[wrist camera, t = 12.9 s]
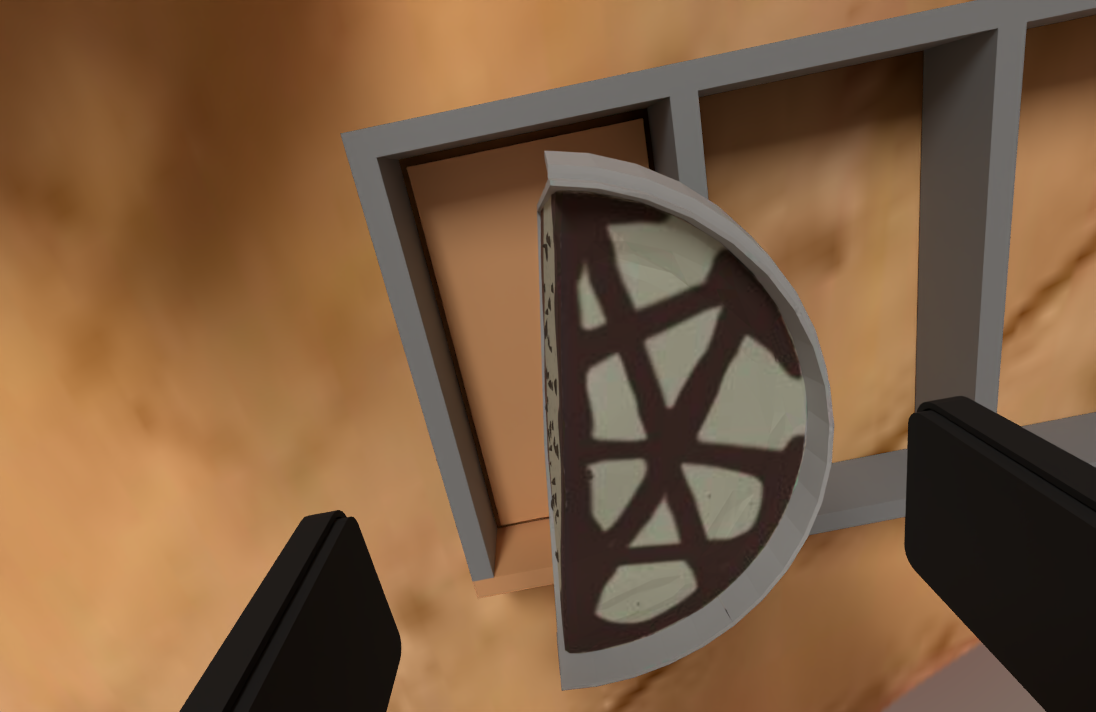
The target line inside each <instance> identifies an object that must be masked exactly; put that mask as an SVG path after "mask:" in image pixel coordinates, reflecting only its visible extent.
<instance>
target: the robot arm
mask: <svg viewBox="0 0 1096 712" xmlns="http://www.w3.org/2000/svg"><path fill="white" fill-rule="evenodd" d="M904 545H905V552H906V556H907V558H908V561H909V562H910V564H911V566H912V567H913V569H914V570H915V571H916V572H917V573H918V574H919V575H920V576H921V578H922V579H923V580H924V581H925V582H926V583H927V584H928V585H929V586H930V587H931V588H932V589H933V590H934V592H935V593H936V594H937V595H938V596H939V597H940V598H941V599H942V600H943V601H944V602H945V603H946V604H947V605H948V607H949V608H950V609H951V610H952V611H953V612H954V613H955V614H956V615H957V616H958V617H959V618H960V619H961V620H962V622H963V623H964V624H965V625H966V626H967V627H968V628H969V629H970V630H971V631H972V632H973V633H974V634H975V636H976V637H977V638H978V639H979V640H980V641H981V642H982V643H983V644H984V645H985V646H986V647H987V648H988V649H989V651H990V652H991V653H992V654H993V655H994V656H995V657H996V658H997V659H998V660H999V661H1000V662H1001V663H1002V664H1003V665H1004V666H1005V668H1006V669H1007V670H1008V671H1009V672H1010V673H1011V674H1012V675H1013V676H1014V677H1015V678H1016V679H1017V680H1018V682H1019V683H1020V684H1021V685H1022V686H1023V687H1024V688H1025V689H1026V690H1027V691H1028V692H1029V693H1030V694H1031V696H1032V697H1033V698H1034V699H1035V700H1036V701H1037V702H1038V703H1039V704H1040V705H1041V706H1042V707H1043V708H1044V709H1045V711H1046V712H1096V467H1094V466H1092V465H1090V464H1089V463H1087V462H1085V461H1083V460H1081V459H1079V458H1078V457H1076V456H1074V455H1072V454H1070V453H1068V452H1067V451H1065V450H1063V449H1061V448H1059V447H1057V446H1056V445H1054V444H1052V443H1050V442H1048V441H1046V440H1045V439H1043V438H1041V437H1039V436H1037V435H1035V434H1034V433H1032V432H1030V431H1028V430H1026V429H1024V428H1023V427H1021V426H1019V425H1017V424H1015V423H1014V422H1012V421H1010V420H1008V419H1006V418H1004V417H1003V416H1001V415H999V414H997V413H995V412H993V411H992V410H990V409H988V408H986V407H984V406H982V405H981V404H979V403H977V402H975V401H973V400H971V399H970V398H967V397H964V396H954V397H949V398H944V399H938V400H933V401H927V402H923V403H922V404H920V405H919V407H918V409H917V413H913V414H912V415H911V416H910V418H909V422H908V449H907V481H906V512H905V544H904ZM400 657H401V639H400V635H399V632H398V629H397V627H396V624H395V621H394V618H393V616H392V613H391V610H390V608H389V605H388V602H387V600H386V597H385V594H384V592H383V589H382V586H381V584H380V581H379V578H378V576H377V573H376V570H375V568H374V565H373V562H372V560H371V557H370V554H369V552H368V549H367V546H366V544H365V541H364V538H363V536H362V533H361V530H360V528H359V525H358V523H357V521H356V519H355V518H354V517H346V515H345V514H344V513H343V512H342V511H340V510H337V511H331V512H326V513H321V514H315V515H310V516H306V517H304V518H303V519H302V521H301V522H300V524H299V525H298V527H297V528H296V530H295V531H294V533H293V534H292V536H291V538H290V539H289V541H288V542H287V544H286V545H285V547H284V549H283V550H282V552H281V553H280V555H279V556H278V558H277V560H276V561H275V563H274V564H273V566H272V567H271V569H270V571H269V572H268V574H267V575H266V577H265V578H264V580H263V581H262V583H261V585H260V586H259V588H258V589H257V591H256V592H255V594H254V596H253V597H252V599H251V600H250V602H249V603H248V605H247V607H246V608H245V610H244V611H243V613H242V614H241V616H240V617H239V619H238V621H237V622H236V624H235V625H234V627H233V628H232V630H231V632H230V633H229V635H228V636H227V638H226V639H225V641H224V643H223V644H222V646H221V647H220V649H219V650H218V652H217V654H216V655H215V657H214V658H213V660H212V661H211V663H210V664H209V666H208V668H207V669H206V671H205V672H204V674H203V675H202V677H201V679H200V680H199V682H198V683H197V685H196V686H195V688H194V690H193V691H192V693H191V694H190V696H189V697H188V699H187V700H186V702H185V704H184V705H183V707H182V708H181V710H180V711H179V712H386V711H387V707H388V703H389V700H390V696H391V692H392V688H393V684H394V681H395V677H396V673H397V669H398V665H399V662H400Z"/></svg>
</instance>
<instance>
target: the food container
mask: <svg viewBox="0 0 1096 712" xmlns="http://www.w3.org/2000/svg"><path fill="white" fill-rule="evenodd" d="M544 157H545V163H546V168H547V172H548V180H547V182H546V185H545V187H544V189H543V192H542V194H541V196H540V199H539V201H538V203H537V228H538V261H539V293H540V326H541V358H542V391H543V423H544V451H545V465H546V479H547V493H548V507H549V521H550V535H551V549H552V563H553V577H554V592H555V606H556V620H557V645H558V657H559V668H560V675H561V688H562V691H563V690H571V689H580V688H588V687H597V686H601V685H605V684H609V683H613V682H618V681H622V680H626V679H630V678H634V677H637V676H640V675H642V674H645V673H648V672H650V671H653V670H656V669H658V668H661V667H664V666H666V665H669V664H671V663H673V662H675V661H677V660H679V659H681V658H683V657H685V656H687V655H689V654H690V653H692V652H694V651H696V650H698V649H700V648H702V647H704V646H705V645H707V644H708V643H710V642H711V641H713V640H714V639H715V638H717V637H718V636H720V635H721V634H723V633H724V632H726V631H727V630H728V629H730V628H731V627H733V626H734V625H735V624H737V623H738V622H739V621H740V620H741V619H742V618H743V617H744V616H745V615H746V614H748V613H749V612H750V611H751V610H752V609H753V608H754V607H755V606H756V605H757V604H759V603H760V602H761V601H762V600H763V599H764V598H765V597H766V595H767V594H768V593H769V592H770V591H771V589H772V588H773V587H774V586H775V585H776V583H777V582H778V581H779V580H780V579H781V577H782V576H783V575H784V574H785V573H786V571H787V570H788V569H789V567H790V565H791V564H792V562H793V560H794V559H795V557H796V556H797V554H798V552H799V551H800V549H801V547H802V546H803V544H804V543H805V541H806V539H807V538H808V535H809V533H810V530H811V528H812V526H813V523H814V521H815V519H816V516H817V514H818V512H819V509H820V507H821V504H822V502H823V497H824V493H825V489H826V485H827V481H828V477H829V473H830V468H831V463H832V449H833V434H834V420H833V411H832V401H831V392H830V384H829V381H828V375H827V368H826V365H825V362H824V358H823V355H822V351H821V348H820V344H819V341H818V337H817V334H816V331H815V328H814V326H813V324H812V322H811V320H810V318H809V316H808V314H807V312H806V310H805V308H804V306H803V304H802V302H801V300H800V298H799V296H798V294H797V292H796V291H795V290H794V288H793V287H792V286H791V284H790V283H789V282H788V280H787V279H786V278H785V276H784V275H783V274H782V272H781V271H780V270H779V268H778V267H777V266H776V264H775V263H774V262H773V260H772V259H771V258H770V256H769V255H768V254H767V253H766V252H765V251H764V250H763V249H762V247H761V246H760V245H759V244H758V243H757V242H756V241H755V240H754V239H753V238H752V236H751V235H749V234H748V233H747V232H746V231H745V230H744V229H743V228H742V227H741V226H740V225H738V224H737V223H736V222H735V221H734V220H733V219H732V218H731V217H730V216H729V215H727V214H726V213H725V212H724V211H723V210H722V209H721V208H720V207H719V206H717V205H716V204H714V203H713V202H711V201H709V200H708V199H706V198H705V197H703V196H701V195H700V194H698V193H697V192H695V191H693V190H692V189H690V188H689V187H687V186H686V185H684V184H682V183H681V182H679V181H677V180H674V179H672V178H669V177H667V176H664V175H662V174H660V173H657V172H655V171H652V170H650V169H647V168H645V167H643V166H640V165H638V164H635V163H630V162H626V161H622V160H617V159H613V158H608V157H604V156H599V155H595V154H590V153H578V152H561V151H544Z"/></svg>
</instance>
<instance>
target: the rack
mask: <svg viewBox="0 0 1096 712" xmlns="http://www.w3.org/2000/svg"><path fill="white" fill-rule="evenodd" d="M1091 15H1096V0H976V1H971V2H966V3H961V4H957V5H952V6H947V7H942V8H937V9H933V10H928V11H923V12H918V13H914V14H909V15H904V16H899V17H894V18H890V19H885V20H880V21H875V22H871V23H866V24H861V25H856V26H852V27H847V28H842V29H837V30H832V31H828V32H823V33H818V34H813V35H809V36H804V37H799V38H794V39H789V40H785V41H780V42H775V43H770V44H766V45H761V46H756V47H751V48H746V49H742V50H737V51H732V52H727V53H723V54H718V55H713V56H708V57H704V58H699V59H694V60H689V61H684V62H680V63H675V64H670V65H665V66H661V67H656V68H651V69H646V70H641V71H637V72H632V73H627V74H622V75H618V76H613V77H608V78H603V79H598V80H594V81H589V82H584V83H579V84H575V85H570V86H565V87H560V88H556V89H551V90H546V91H541V92H536V93H532V94H527V95H522V96H517V97H513V98H508V99H503V100H498V101H493V102H489V103H484V104H479V105H474V106H470V107H465V108H460V109H455V110H450V111H446V112H441V113H436V114H431V115H427V116H422V117H417V118H412V119H408V120H403V121H398V122H393V123H388V124H384V125H379V126H374V127H369V128H365V129H360V130H355V131H350V132H345V133H341V137H342V141H343V144H344V148H345V151H346V154H347V158H348V161H349V164H350V168H351V171H352V175H353V178H354V181H355V185H356V188H357V192H358V195H359V198H360V202H361V205H362V208H363V212H364V215H365V219H366V222H367V225H368V229H369V232H370V236H371V239H372V242H373V246H374V249H375V252H376V256H377V259H378V263H379V266H380V269H381V273H382V276H383V279H384V283H385V286H386V290H387V293H388V296H389V300H390V303H391V307H392V310H393V313H394V317H395V320H396V323H397V327H398V330H399V334H400V337H401V340H402V344H403V347H404V351H405V354H406V357H407V361H408V364H409V367H410V371H411V374H412V378H413V381H414V384H415V388H416V391H417V395H418V398H419V401H420V405H421V408H422V411H423V415H424V418H425V422H426V425H427V428H428V432H429V435H430V438H431V442H432V445H433V449H434V452H435V455H436V459H437V462H438V466H439V469H440V472H441V476H442V479H443V482H444V486H445V489H446V493H447V496H448V499H449V503H450V506H451V510H452V513H453V516H454V520H455V523H456V526H457V530H458V533H459V537H460V540H461V543H462V547H463V550H464V553H465V557H466V560H467V564H468V567H469V570H470V574H471V577H472V581H473V584H474V587H475V591H476V594H477V597H478V598H483V597H489V596H494V595H499V594H504V593H509V592H515V591H520V590H525V589H530V588H536V587H541V586H546V585H551V584H554V577H553V563H552V549H551V535H550V521H549V518H547V519H542V520H537V521H532V522H527V523H521V524H516V525H511V526H506V527H501V528H497V525H496V522H495V518H494V514H493V510H492V507H491V503H490V499H489V495H488V492H487V488H486V484H485V480H484V477H483V473H482V469H481V465H480V462H479V458H478V454H477V450H476V447H475V443H474V439H473V436H472V432H471V428H470V424H469V421H468V417H467V413H466V409H465V406H464V402H463V398H462V394H461V391H460V387H459V383H458V379H457V376H456V372H455V368H454V364H453V361H452V357H451V353H450V349H449V346H448V342H447V338H446V335H445V331H444V327H443V323H442V320H441V316H440V312H439V308H438V305H437V301H436V297H435V293H434V290H433V286H432V282H431V278H430V275H429V271H428V267H427V263H426V260H425V256H424V252H423V248H422V245H421V241H420V237H419V234H418V230H417V226H416V222H415V219H414V215H413V211H412V207H411V204H410V200H409V196H408V192H407V189H406V185H405V181H404V177H403V174H402V170H401V166H400V162H399V159H404V158H409V157H414V156H419V155H423V154H428V153H433V152H438V151H443V150H447V149H452V148H457V147H462V146H467V145H471V144H476V143H481V142H486V141H491V140H496V139H500V138H505V137H510V136H515V135H520V134H524V133H529V132H534V131H539V130H544V129H548V128H553V127H558V126H563V125H568V124H572V123H577V122H582V121H587V120H592V119H596V118H601V117H606V116H611V115H616V114H620V113H625V112H630V111H635V110H640V109H644V108H647V112H648V120H649V128H650V136H651V144H652V152H653V160H654V168H655V172H657V173H660V174H662V175H664V176H667V177H669V178H672V179H674V180H677V181H679V182H681V183H682V184H684V185H686V186H687V187H689V188H690V189H692V190H693V191H695V192H697V193H698V194H700V195H701V196H703V197H705V198H706V199H708V191H707V180H706V170H705V160H704V149H703V139H702V129H701V118H700V108H699V98H698V97H702V96H707V95H712V94H717V93H721V92H726V91H731V90H736V89H741V88H745V87H750V86H755V85H760V84H765V83H769V82H774V81H779V80H784V79H789V78H793V77H798V76H803V75H808V74H813V73H818V72H822V71H827V70H832V69H837V68H842V67H846V66H851V65H856V64H861V63H866V62H870V61H875V60H880V59H885V58H890V57H894V56H899V55H904V54H909V53H914V52H918V51H923V50H924V67H923V108H922V149H921V191H920V232H919V273H918V314H917V356H916V397H915V413H917V409H918V407H919V405H920V404H922V403H923V402H927V401H933V400H938V399H944V398H949V397H954V396H964V397H967V398H970V399H971V400H973V401H975V402H977V403H979V404H981V405H982V406H984V407H986V408H988V409H990V410H992V411H993V412H995V413H997V402H998V389H999V376H1000V363H1001V350H1002V337H1003V325H1004V312H1005V299H1006V286H1007V273H1008V260H1009V247H1010V234H1011V221H1012V208H1013V195H1014V182H1015V169H1016V156H1017V143H1018V130H1019V117H1020V105H1021V92H1022V79H1023V66H1024V53H1025V40H1026V29H1029V28H1034V27H1039V26H1043V25H1048V24H1053V23H1058V22H1063V21H1067V20H1072V19H1077V18H1082V17H1087V16H1091ZM544 151H561V152H578V153H590V154H595V155H599V156H604V157H608V158H613V159H617V160H622V161H626V162H630V163H635V164H638V165H640V166H643V167H645V168H647V169H649V163H648V155H647V147H646V140H645V132H644V124H643V118H642V119H637V120H632V121H627V122H622V123H618V124H613V125H608V126H603V127H598V128H593V129H589V130H584V131H579V132H574V133H569V134H565V135H560V136H555V137H550V138H545V139H541V140H536V141H531V142H526V143H521V144H516V145H512V146H507V147H502V148H497V149H492V150H488V151H483V152H478V153H473V154H468V155H463V156H459V157H454V158H449V159H444V160H439V161H435V162H430V163H425V164H420V165H415V166H411V167H407V171H408V174H409V178H410V182H411V186H412V189H413V193H414V197H415V201H416V205H417V208H418V212H419V216H420V220H421V224H422V227H423V231H424V235H425V239H426V242H427V246H428V250H429V254H430V258H431V261H432V265H433V269H434V273H435V277H436V280H437V284H438V288H439V292H440V295H441V299H442V303H443V307H444V311H445V314H446V318H447V322H448V326H449V330H450V333H451V337H452V341H453V345H454V349H455V352H456V356H457V360H458V364H459V367H460V371H461V375H462V379H463V383H464V386H465V390H466V394H467V398H468V402H469V405H470V409H471V413H472V417H473V420H474V424H475V428H476V432H477V436H478V439H479V443H480V447H481V451H482V455H483V458H484V462H485V466H486V470H487V473H488V477H489V481H490V485H491V489H492V492H493V496H494V500H495V504H496V508H497V511H498V515H499V519H500V523H501V525H506V524H512V523H517V522H522V521H527V520H532V519H537V518H543V517H548V516H549V507H548V493H547V479H546V465H545V451H544V423H543V391H542V358H541V326H540V293H539V261H538V228H537V203H538V201H539V199H540V196H541V194H542V192H543V189H544V187H545V185H546V182H547V180H548V172H547V168H546V163H545V157H544ZM1022 427H1023V428H1024V429H1026V430H1028V431H1030V432H1032V433H1034V434H1035V435H1037V436H1039V437H1041V438H1043V439H1045V440H1046V441H1048V442H1050V443H1052V444H1054V445H1056V446H1057V447H1059V448H1061V449H1063V450H1065V451H1067V452H1068V453H1070V454H1072V455H1074V456H1076V457H1078V458H1079V459H1081V460H1083V461H1085V462H1087V463H1089V464H1090V465H1092V466H1094V467H1096V412H1094V413H1089V414H1084V415H1078V416H1073V417H1068V418H1063V419H1058V420H1053V421H1047V422H1042V423H1037V424H1032V425H1027V426H1022ZM906 481H907V449H903V450H898V451H893V452H888V453H882V454H877V455H872V456H867V457H862V458H857V459H852V460H846V461H841V462H836V463H831V468H830V473H829V477H828V481H827V485H826V489H825V493H824V497H823V502H822V504H821V507H820V509H819V512H818V514H817V516H816V519H815V521H814V523H813V526H812V528H811V530H810V533H809V535H812V534H818V533H823V532H828V531H833V530H838V529H844V528H849V527H854V526H859V525H865V524H870V523H875V522H880V521H885V520H891V519H896V518H901V517H905V512H906Z"/></svg>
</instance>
